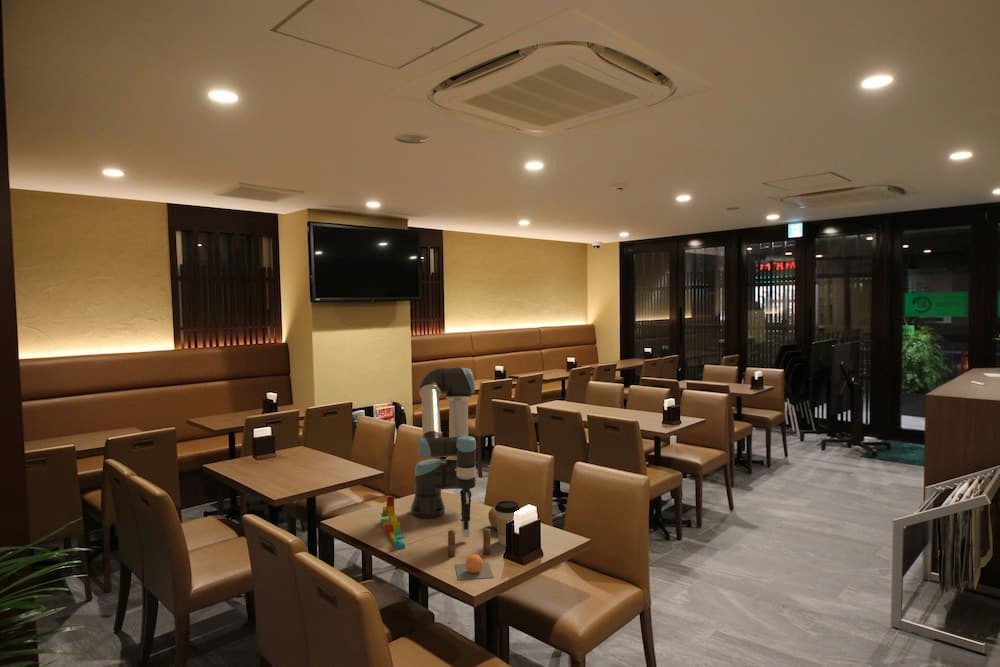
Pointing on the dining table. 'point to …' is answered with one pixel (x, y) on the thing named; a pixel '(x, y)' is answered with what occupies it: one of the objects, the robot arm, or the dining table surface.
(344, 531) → the dining table surface
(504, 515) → the coffee cup
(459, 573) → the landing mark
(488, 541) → the post
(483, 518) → the dining table surface
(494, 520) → the potato
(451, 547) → the post
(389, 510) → the colorful toy block stack
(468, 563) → the ball
